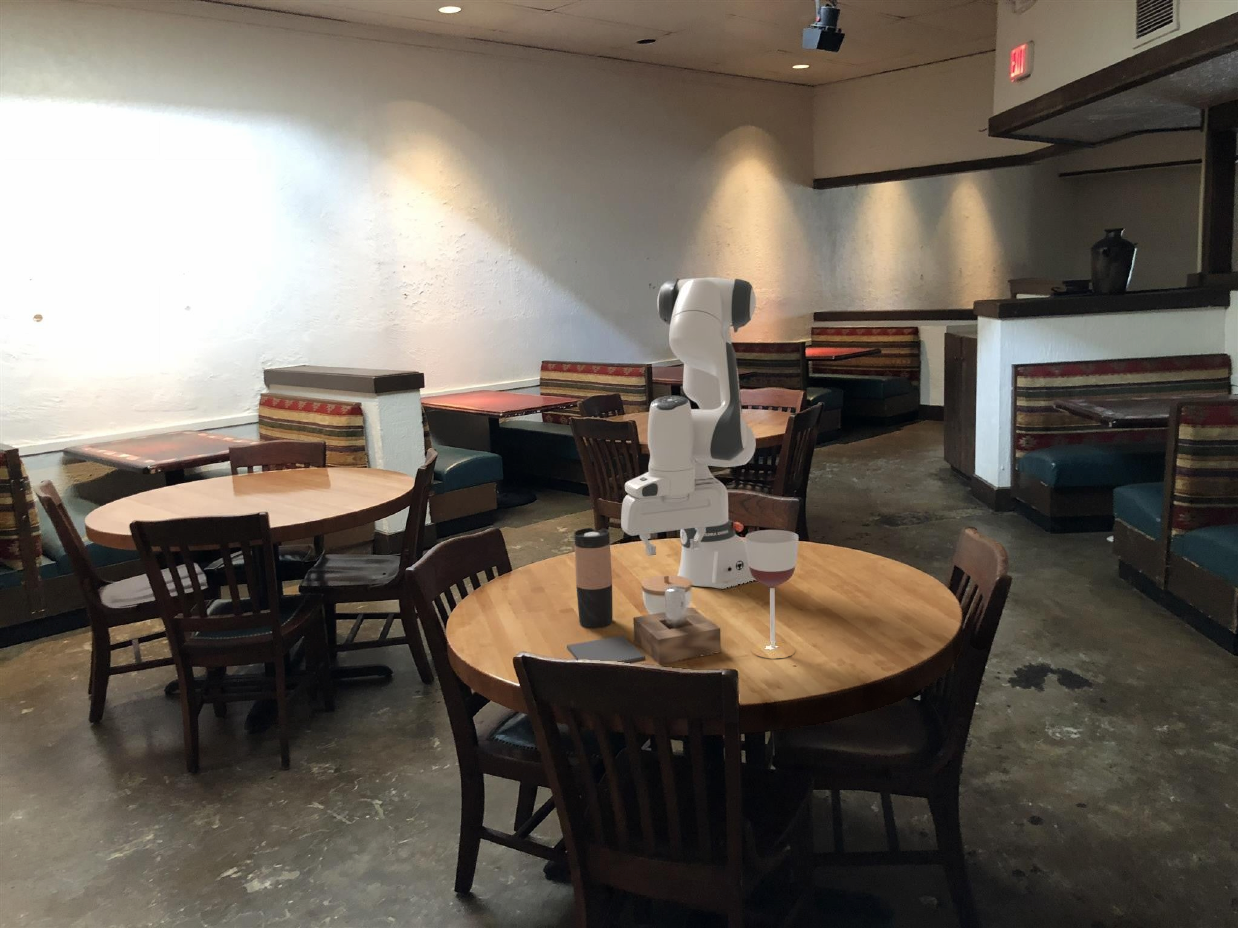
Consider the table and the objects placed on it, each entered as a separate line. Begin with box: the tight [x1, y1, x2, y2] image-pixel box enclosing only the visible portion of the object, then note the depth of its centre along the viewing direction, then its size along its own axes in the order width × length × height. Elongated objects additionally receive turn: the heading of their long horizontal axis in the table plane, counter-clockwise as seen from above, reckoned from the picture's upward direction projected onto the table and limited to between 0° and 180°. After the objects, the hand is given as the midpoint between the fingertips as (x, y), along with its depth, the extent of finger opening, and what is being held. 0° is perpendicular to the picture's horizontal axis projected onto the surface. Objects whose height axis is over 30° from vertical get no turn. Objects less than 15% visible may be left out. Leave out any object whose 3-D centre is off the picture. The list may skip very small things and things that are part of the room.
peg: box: [665, 586, 686, 629], centre depth 184 cm, size 4×4×12 cm
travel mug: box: [573, 527, 614, 629], centre depth 199 cm, size 8×8×20 cm
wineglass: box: [744, 529, 799, 650], centre depth 179 cm, size 9×10×23 cm
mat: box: [566, 634, 646, 663], centre depth 184 cm, size 12×12×1 cm
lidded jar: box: [641, 574, 693, 615], centre depth 201 cm, size 11×11×9 cm
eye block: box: [632, 607, 722, 665], centre depth 185 cm, size 13×13×5 cm
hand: (673, 551), depth 181 cm, fingers open, 8 cm apart
